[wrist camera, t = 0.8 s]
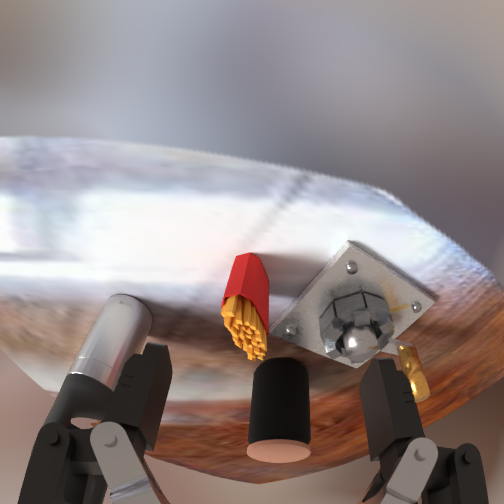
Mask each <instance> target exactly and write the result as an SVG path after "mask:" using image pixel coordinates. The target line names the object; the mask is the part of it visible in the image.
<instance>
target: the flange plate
mask: <svg viewBox="0 0 504 504" xmlns="http://www.w3.org/2000/svg"><path fill="white" fill-rule="evenodd" d="M359 293H361V294H363V293H366V294H369V295H372V296H375V297H378V298H381V299H384V300H386V302H387V303H388V306H389V309H390V312H391V315H392V320H393V324H394V327H395V330H394V331H395V332H394V335H393V336H392V337H391V338H393V339H395V338H396V337H397V336H399V335H400V334H401V333H402V332H403V331H404V330H406V329H407V328H408V327H409V326H410V325H411V324H412V323H414V322H415V321H416V320H417V319H418V318H419V317H420V316H421V315H422V314H423V313H425V312H426V311H427V310H428V309H429V308H430V307H431V306H432V305H433V304H434V303H435V301H434V299H433V297H432V296H431V295H430V294H428V293H427V292H425V291H424V290H422V289H421V288H419V287H418V286H417V285H415V284H414V283H412V282H411V281H409V280H408V279H406V278H405V277H403V276H402V275H400V274H399V273H397V272H396V271H394V270H393V269H391V268H390V267H388V266H387V265H385V264H384V263H382V262H381V261H379V260H378V259H376V258H375V257H373V256H371V255H370V254H368V253H367V252H365V251H364V250H362V249H361V248H359V247H357V246H356V245H354V244H353V243H351V242H349V241H348V240H347V241H346V243H345V244H344V245H343V246H342V247H341V248H340V250H339V251H338V252H337V253H336V254H335V255H334V257H333V258H332V259H331V260H330V261H329V262H328V263H327V265H326V266H325V267H324V268H323V269H322V270H321V271H320V273H319V274H318V275H317V276H316V277H315V278H314V279H313V280H312V281H311V283H310V284H309V285H308V286H307V287H306V288H305V289H304V290H303V291H302V293H301V294H300V295H299V296H298V297H297V298H296V299H295V300H294V301H293V302H292V303H291V305H290V306H289V307H288V308H287V309H286V310H285V311H284V312H283V313H282V314H281V315H280V316H279V317H278V318H277V320H276V321H275V322H274V323H273V324H272V325H271V326H270V329H269V334H272V335H274V336H276V337H279V338H281V339H284V340H286V341H288V342H291V343H293V344H296V345H298V346H300V347H303V348H305V349H308V350H310V351H313V352H315V353H318V354H320V355H323V356H325V357H328V358H330V357H329V356H328V355H327V354H326V352H325V346H324V343H323V341H322V339H321V337H320V328H319V321H320V319H321V318H322V317H323V315H324V314H325V312H326V311H327V310H328V308H329V307H330V305H331V304H332V303H335V302H334V301H337V300H340V299H343V298H347V297H350V296H353V295H356V294H359ZM376 322H377V321H375V320H372V319H370V324H368V325H361V326H354V321H350V322H347V323H344V324H343V331H344V332H343V333H342V335H343V341H344V347H345V353H346V357H347V358H346V357H341V356H340V357H338V358H335V359H333V360H336V361H338V362H341V363H343V364H346V365H349V366H351V367H354V368H358V367H360V366H361V365H362V364H364V363H365V362H366V361H368V360H369V359H370V358H372V357H373V356H374V355H375V354H377V353H378V352H379V351H380V350H378V349H379V346H378V342H377V338H376V335H375V331H374V327H373V326H374V325H375V324H376ZM330 359H331V358H330ZM351 360H352V361H364V360H365V361H364V362H362V363H354V364H351Z"/></svg>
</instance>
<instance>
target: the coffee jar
mask: <svg viewBox="0 0 504 504" xmlns="http://www.w3.org/2000/svg"><path fill="white" fill-rule="evenodd" d="M310 440H311V430H310V400H309V378H308V372H307V370H306V368H305V367H304V366H303V365H302V364H301V363H300V362H298V361H296V360H293V359H289V358H274V359H270V360H267V361H265V362H263V363H262V364H260V366H259V367H257V369H256V371H255V372H254V379H253V390H252V401H251V412H250V423H249V434H248V442H249V444H250V445H249V446H248V448H247V454H248V455H249V456H250V457H251V458H254V459H256V460H260V461H264V462H271V463H286V462H294V461H299V460H302V459H305V458H306V457H308V456H309V455H310V453H311V449H310V447H309V445H308V444H309V442H310Z"/></svg>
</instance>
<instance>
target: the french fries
mask: <svg viewBox="0 0 504 504" xmlns="http://www.w3.org/2000/svg"><path fill="white" fill-rule="evenodd" d="M221 308H222V311H221V314H222V316H223V317H224V325H225V326H226V327H227V328H228V330H229V331H230V332H231V334H232V336H233V338H232V339H233V341H234V342H235V344H236V345H237V346H238V347H240V348H242V344H243V350H244V351H246V352H247V354H248V359H250V360H252V361H255V358H256V354H257V357H258V359H261V360H263V355H264V356H265V351H267V341H266V337H267V334H268V321H269V280H268V277H267V274H266V272H265V269H264V267H263V265H262V262H261V260H260V258H259V257H257V256H255V255H253V254H252V253H246V254H242V255H239V256H236V258H235V261H234V263H233V266H232V270H231V273H230V277H229V280H228V283H227V287H226V290H225V294H224V297H223V302H222V306H221Z"/></svg>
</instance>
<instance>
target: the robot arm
mask: <svg viewBox="0 0 504 504" xmlns="http://www.w3.org/2000/svg"><path fill="white" fill-rule="evenodd" d="M151 325H152V316H151V313H150V311H149V310H148V308H147V307H146V306H145V305H144V304H142V303H141V302H140V301H138V300H137V299H135V298H133V297H131V296H127V295H122V294H118V295H113V296H111V297H110V298H109V299H108V300H107V302H106V304H105V305H104V307H103V309H102V310H101V312H100V314H99V316H98V317H97V319H96V321H95V323H94V324H93V326H92V328H91V330H90V332H89V334H88V335H87V337H86V339H85V341H84V343H83V345H82V347H81V348H80V350H79V352H78V354H77V356H76V358H75V360H74V362H73V364H72V366H71V368H70V370H69V372H68V374H67V376H66V378H65V380H64V383H63V385H62V387H61V389H60V392H59V394H58V396H57V398H56V400H55V402H54V405H53V407H52V409H51V410H50V412H49V414H48V416H47V418H46V420H45V422H44V424H43V426H42V428H41V429H40V431H39V433H38V436H37V438H36V441H35V443H34V446H33V449H32V453H31V457H30V460H29V463H28V467H27V470H26V474H25V478H24V481H23V485H22V488H21V492H20V496H19V500H18V504H103V500H104V497H105V493H106V490H107V486H109V489H110V492H111V494H110V499H111V502H112V504H170V503H169V501H168V500H167V498H166V497H165V495H164V494H163V492H162V490H161V489H160V487H159V485H158V483H157V482H156V480H155V478H154V476H153V474H152V473H151V471H150V469H149V467H148V465H147V463H146V461H145V459H144V453H145V449H146V450H150V451H153V450H154V446H155V442H156V438H157V434H158V430H159V426H160V422H161V418H162V414H163V410H164V406H165V403H166V399H167V395H168V391H169V388H170V384H171V380H172V364H171V360H170V355H169V350H168V346H167V345H164V344H158V343H151V342H148V343H147V344H146V346H145V349H144V351H143V354H142V355H141V354H140V352H141V350H142V347H143V345H144V342H145V340H146V337H147V335H148V332H149V330H150V327H151ZM412 392H413V391H412V387H411V384H410V380H409V379H408V378H407V376H406V375H405V374H404V372H403V371H397V370H396V366H395V363H394V360H393V359H392V358H375V359H373V360H372V362H371V364H370V365H369V367H368V369H367V371H366V373H365V375H364V376H363V378H362V380H361V384H360V395H361V401H362V406H363V412H364V419H365V425H366V432H367V438H368V445H369V453H370V460H371V462H372V461H380V467H381V468H380V469H379V471H378V473H377V474H376V476H375V477H374V479H373V481H372V482H371V484H370V485H369V487H368V488H367V490H366V491H365V493H364V494H363V496H362V497H361V499H360V500H359V501H358V503H357V504H418V503H417V501H418V498H419V497H420V495H421V498H422V504H489V502H488V495H487V488H486V482H485V476H484V471H483V465H482V461H481V456H480V452H479V450H478V449H477V448H476V446H474V445H473V444H469V443H466V444H462V445H461V446H459V447H458V448H457V449H451V448H443V447H438V446H436V445H435V444H434V443H433V442H432V441H431V440H429V439H427V438H426V437H425V435H424V432H423V428H422V424H421V420H420V416H419V412H418V409H417V405H416V402H415V398H414V394H413V393H412ZM76 417H84V418H91V419H96V420H102V421H101V422H100V423H99V424H98V425H97V426H95V427H93V428H90V429H80V428H78V427H76V426H74V425H73V424H71V422H70V421H71V418H76Z"/></svg>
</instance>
